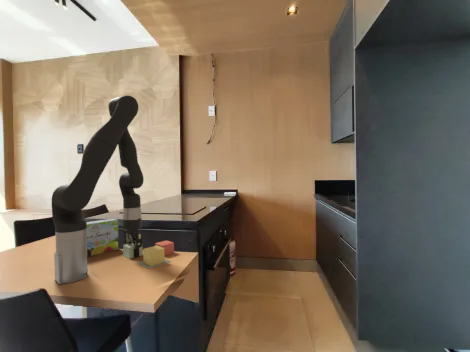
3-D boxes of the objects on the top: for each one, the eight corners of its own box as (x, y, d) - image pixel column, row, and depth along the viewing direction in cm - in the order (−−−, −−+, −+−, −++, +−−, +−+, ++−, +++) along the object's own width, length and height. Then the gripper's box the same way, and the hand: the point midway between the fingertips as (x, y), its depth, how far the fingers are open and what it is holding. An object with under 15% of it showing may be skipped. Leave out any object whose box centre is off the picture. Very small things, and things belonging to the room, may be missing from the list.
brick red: (162, 258, 105) (162, 245, 105) (155, 255, 109) (155, 243, 109) (174, 254, 110) (173, 242, 110) (166, 252, 114) (166, 240, 114)
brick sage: (129, 260, 103) (129, 247, 103) (123, 257, 107) (123, 245, 107) (142, 256, 107) (142, 244, 107) (136, 254, 111) (136, 242, 111)
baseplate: (148, 270, 91) (148, 268, 91) (136, 264, 98) (136, 262, 98) (171, 263, 98) (171, 261, 98) (158, 258, 105) (158, 256, 105)
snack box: (69, 262, 102) (69, 226, 102) (64, 259, 106) (64, 225, 106) (119, 249, 119) (118, 218, 119) (113, 247, 123) (112, 217, 123)
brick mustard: (150, 266, 94) (150, 251, 94) (143, 262, 98) (143, 248, 98) (164, 261, 98) (164, 248, 98) (157, 258, 102) (156, 245, 102)
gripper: (117, 217, 109) (117, 254, 109) (131, 220, 99) (132, 261, 99) (133, 214, 115) (134, 250, 115) (148, 218, 105) (149, 256, 105)
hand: (133, 255), depth 107 cm, fingers closed on brick sage, 6 cm apart
